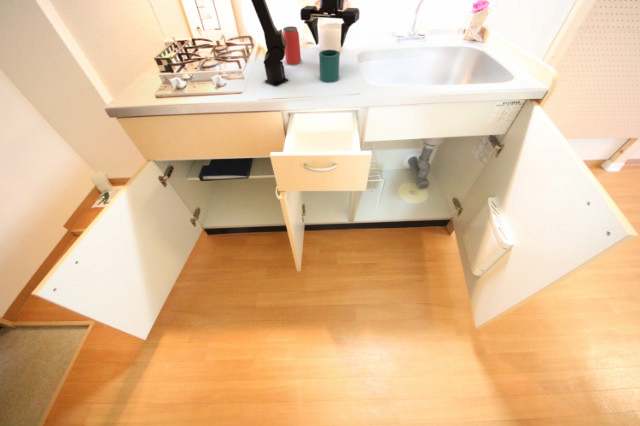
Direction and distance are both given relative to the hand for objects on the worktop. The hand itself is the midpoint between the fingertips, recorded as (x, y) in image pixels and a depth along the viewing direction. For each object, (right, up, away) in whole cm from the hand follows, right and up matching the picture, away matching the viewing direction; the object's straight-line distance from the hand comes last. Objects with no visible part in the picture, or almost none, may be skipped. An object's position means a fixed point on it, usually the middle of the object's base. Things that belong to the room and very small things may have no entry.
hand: (329, 45), depth 84 cm
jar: (0, -7, +8) cm, 11 cm away
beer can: (-15, +7, +20) cm, 26 cm away
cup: (+2, +15, +26) cm, 31 cm away
